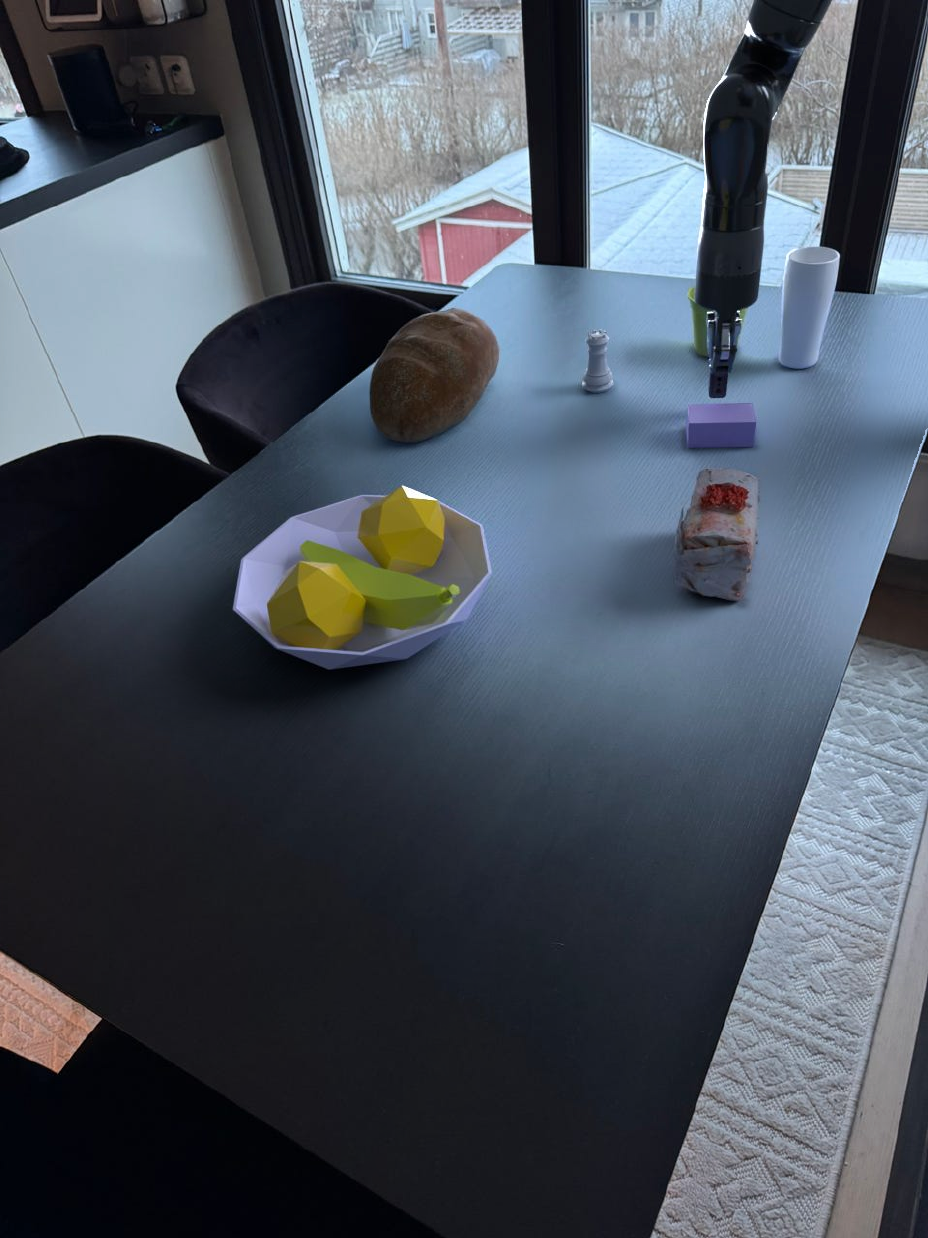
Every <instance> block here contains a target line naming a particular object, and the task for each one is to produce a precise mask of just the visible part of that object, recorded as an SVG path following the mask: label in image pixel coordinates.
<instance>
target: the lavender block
mask: <svg viewBox="0 0 928 1238" xmlns="http://www.w3.org/2000/svg"><path fill="white" fill-rule="evenodd" d="M754 407H755V406H754V402H729V403H727V402H725V403H724V402H723V403H688V404H687V409H686V427H685V431H686V445H687V448H688V449H696V448H697V449H701V448H702V449H703V448H753V447H754V444H755V436H756V430H757V429H756V427H757V417H756V413H755V408H754Z"/></svg>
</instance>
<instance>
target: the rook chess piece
mask: <svg viewBox="0 0 928 1238" xmlns="http://www.w3.org/2000/svg"><path fill="white" fill-rule="evenodd" d="M609 341H610V337H609V336H608V335H607V331H606V330H603V329H602V328H601V329H598V332H597V329H592V331H591V330H590V331H588V333H587V337H586V338H585V343H586V344H587V345H588V348H587V353H588V362H587V366H586V369H585V372H584V373H583V374H582V384H581V386H582V388H583V389H584V390H585V391H587V392H588V393H593V394H600V393H604V392H607V391H609V390H610V389H611V388H612V387H613V386H614V381H613V377H614V376H613V375H614V374H613V373H612V372H611V371H610V370H611V369H610V368H609V365H608V360H607V352H608V347H607V344H608V343H609Z"/></svg>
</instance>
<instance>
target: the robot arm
mask: <svg viewBox="0 0 928 1238" xmlns="http://www.w3.org/2000/svg"><path fill="white" fill-rule="evenodd" d="M832 2H833V0H753V2H752V5H751V8H750V11H749V14H748V17H747V21H746V22H747V23H746V28H745V30H744V32H743V35H742V36H741V39H740V41H739V43H738V44H737V47H736V49H735V51H734V54H733V55H732V57H731V60H730V62H729V64H728V66H727V68H726V70H725V72H724V74H723V76H722V78H721V80H720V81H719V82H718V84H717V85H716V86H715V87H714V88H713V90H712V92H711V94H710V95H709V98H708V100H707V103H706V108H705V111H704V120H703V160H704V161H703V163H704V164H703V165H704V177H705V181H704V188H703V197H702V208H701V209H702V211H701V223H700V230H699V236H698V241H697V250H696V251H697V252H696V266H695V279H694V281H695V282H694V285H695V294H694V299H695V302H696V303H697V304H698V305H699V306H700V307H702V308H704V309H707V310H711V312H708V313H707V320H706V323H707V333H708V334H707V348H708V356H709V357H708V358H709V359H708V361H707V362H708V364H709V365H708V370H709V378H708V390H707V391H708V397H709V398H710V399H724V398H726V396H727V390H728V380H729V374H732V371H733V367H734V362H735V359H736V354H737V352H738V346H737V339H738V336H739V335H740V336H741V334H740V331H741V332H742V330H741V320H739V319H740V311H739V310H741V309H745V308H747V309H748V308H750V307H752V306H753V305H754V304H755V303H756V302H757V301H758V298H759V291H760V284H761V283H760V282H761V273H762V266H763V265H762V264H763V256H764V248H765V218H766V210H767V209H766V208H767V202H768V201H767V199H768V191H769V190H768V189H769V177H768V174H767V173H768V172H767V170H766V168H767V161H768V153H769V152H768V151H769V143H770V137H771V130H772V125H773V120H774V119H775V116H776V115H777V113H778V111H779V108H780V106H781V105H782V102H783V100H784V98H785V95H786V93H787V91H788V89H789V86H790V85H791V82H792V80H793V78H794V76H795V73H796V71H797V69H798V66H799V65H800V61H801V60H802V56H803V54H804V51H805V50H806V49H807V47H808V46H809V44H810V43H811V41H812V40H813V38H814V37H815V35H816V33H817V31H818V30H819V28H820V26H821V24H822V21H823V20H824V18H825V17H826V16H825V15H826V14H827V12H828V10H829V8H830V6H831V4H832Z"/></svg>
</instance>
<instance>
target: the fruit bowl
mask: <svg viewBox="0 0 928 1238" xmlns="http://www.w3.org/2000/svg"><path fill="white" fill-rule="evenodd" d="M492 574H493V571H492V565H491V561H490V555H489V550H488V545H487V540H486V535H485V530H484V525H483V524H481V523H480V522H478V521H477V520H474V519H473V518H471V517H470V516H467V515H466V514H463V513H462V512H460V511H458V510H456V509H455V508H453V507H451V506H449V505H447V504H445V503H443V502H442V501H440V500H438V499H436V498H435V497H433V496H429V495H426V494H425V493H421V492H420V491H417V490H415V489H413V488H410V487H407V486H404V485H401V486H399V487H397V488H396V489H394V490H393V491H391V492H390V493H388V494H386V495H379V494H377V495H376V494H360V495H357V496H353V497H350V498H348V499H344V500H341V501H337V502H335V503H332V504H328V505H325V506H322V507H318V508H316V509H313V510H309V511H307V512H303V513H300V514H296V515H294V516H291V517H289V518H288V519H287V520H286V521H285V522H283V523H282V524H281V525H280V526H279V527H277V528H276V529H275V530H274V531H273V532H272V533H270V534H269V535H268V536H266V537H265V539H263V540H262V541H261V542H260V543H258V544H257V545H256V546H255V547H254V548H253V549H252V550H250V551H249V552H248V553H246V555H244V556H243V557H242V558H241V559H240V564H239V570H238V576H237V581H236V588H235V593H234V599H233V605H232V611H234V612H235V613H236V614H237V615H238V616H239V617H241V618H242V620H243V621H244V622H246V623H247V624H248V625H249V626H250V627H251V628H252V629H254V630H255V632H257V633H258V634H259V635H260V636H261V637H262V638H263V639H264V640H266V641H267V642H268V643H269V645H271V646H272V647H273V648H274V649H276V650H278V651H281V652H283V653H286V654H288V655H291V656H293V657H296V658H299V659H301V660H304V661H306V662H308V663H311V664H313V665H316V666H318V667H322V668H324V669H326V670H330V671H331V670H338V669H344V668H352V667H359V666H366V665H373V664H379V663H388V662H395V661H402V660H407V659H409V658H411V657H412V656H413V655H415V654H416V653H418V652H420V651H421V650H423V649H424V648H426V647H427V646H428V645H431V644H432V643H434V642H435V641H437V640H438V639H439V638H441V637H443V636H444V635H446V634H447V633H449V632H450V631H452V630H454V629H455V628H457V627H458V626H459V625H461V624H463V623H464V622H466V621H467V620H468V618H469V617H470V615H471V614H472V611H473V609H474V607H475V606H476V604H477V603H478V600H479V598H480V597H481V594H482V593H483V591H484V589H485V587H486V585H487V583H488V581H489V579H490V577H491V576H492Z"/></svg>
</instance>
